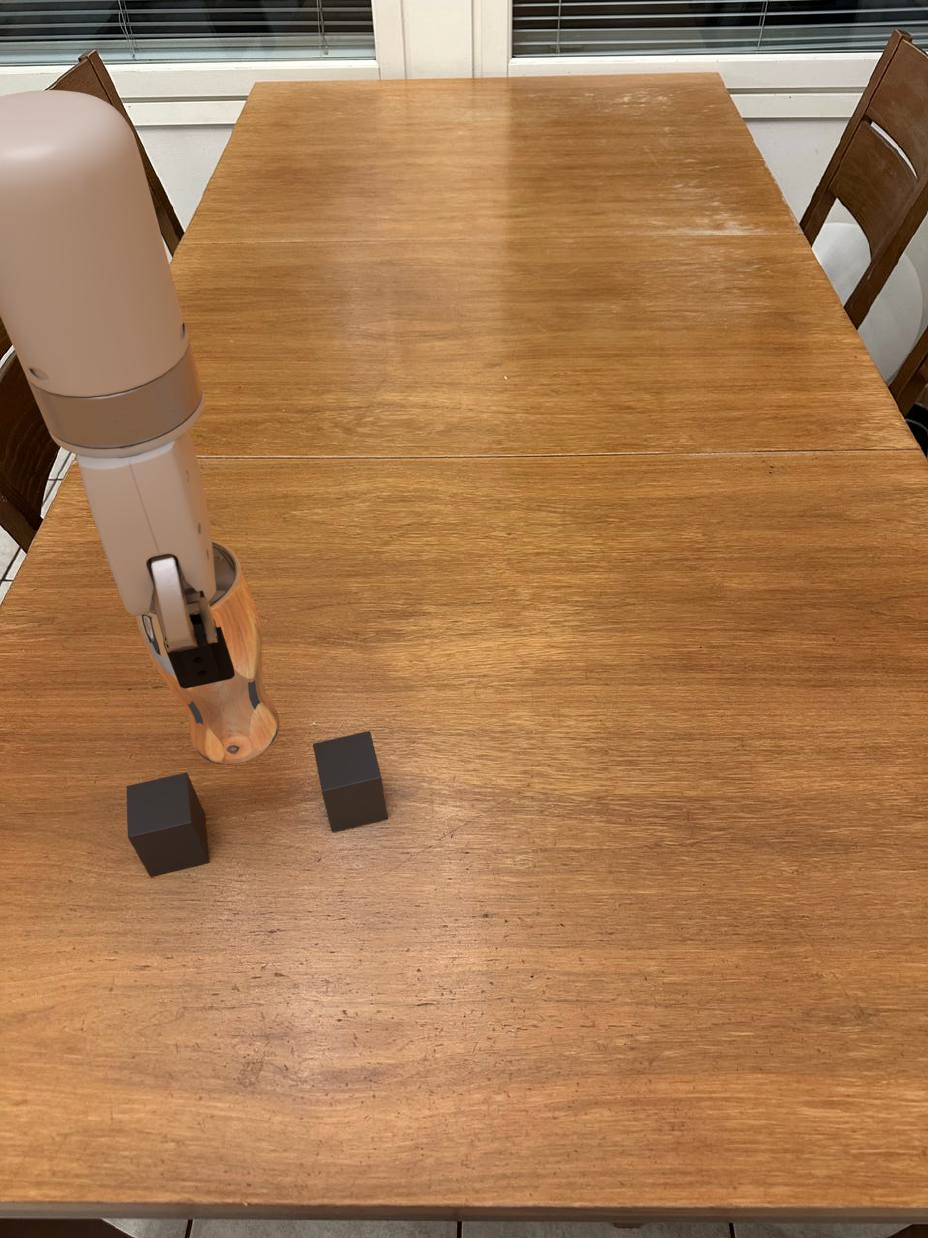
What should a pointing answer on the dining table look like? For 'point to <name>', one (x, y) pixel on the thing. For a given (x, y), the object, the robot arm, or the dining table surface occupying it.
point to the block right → (350, 781)
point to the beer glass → (231, 709)
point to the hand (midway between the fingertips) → (202, 631)
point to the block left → (167, 824)
